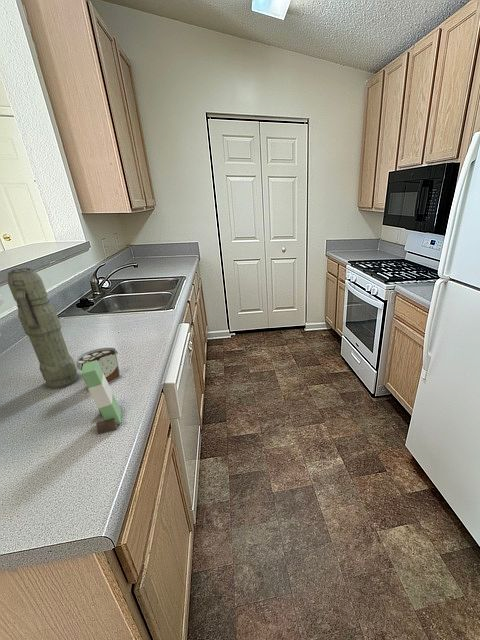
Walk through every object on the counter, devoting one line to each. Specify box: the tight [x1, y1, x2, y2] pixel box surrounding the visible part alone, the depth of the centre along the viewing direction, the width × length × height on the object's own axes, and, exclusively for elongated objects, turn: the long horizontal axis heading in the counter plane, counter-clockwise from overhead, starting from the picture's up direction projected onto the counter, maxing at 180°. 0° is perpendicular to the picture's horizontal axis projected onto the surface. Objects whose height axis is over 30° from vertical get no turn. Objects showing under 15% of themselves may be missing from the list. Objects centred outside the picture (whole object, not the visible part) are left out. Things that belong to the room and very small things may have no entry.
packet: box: [80, 360, 122, 425], centre depth 83 cm, size 16×6×3 cm
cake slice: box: [75, 347, 121, 384], centre depth 103 cm, size 12×6×10 cm, turn 154°
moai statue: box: [7, 267, 80, 389], centre depth 98 cm, size 9×12×35 cm
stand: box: [95, 407, 118, 435], centre depth 86 cm, size 4×10×2 cm, turn 25°
